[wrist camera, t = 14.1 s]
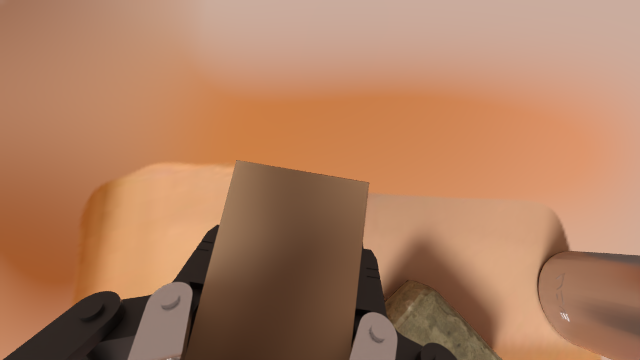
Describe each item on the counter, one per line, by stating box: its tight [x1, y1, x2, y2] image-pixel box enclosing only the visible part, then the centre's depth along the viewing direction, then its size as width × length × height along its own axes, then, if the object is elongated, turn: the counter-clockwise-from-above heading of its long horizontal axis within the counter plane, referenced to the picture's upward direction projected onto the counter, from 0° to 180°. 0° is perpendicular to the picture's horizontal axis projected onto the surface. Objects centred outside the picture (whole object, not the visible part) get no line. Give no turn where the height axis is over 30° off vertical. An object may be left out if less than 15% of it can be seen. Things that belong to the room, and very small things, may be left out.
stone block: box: [385, 281, 502, 360], centre depth 19 cm, size 6×12×5 cm, turn 44°
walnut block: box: [185, 160, 369, 360], centre depth 11 cm, size 5×6×8 cm
